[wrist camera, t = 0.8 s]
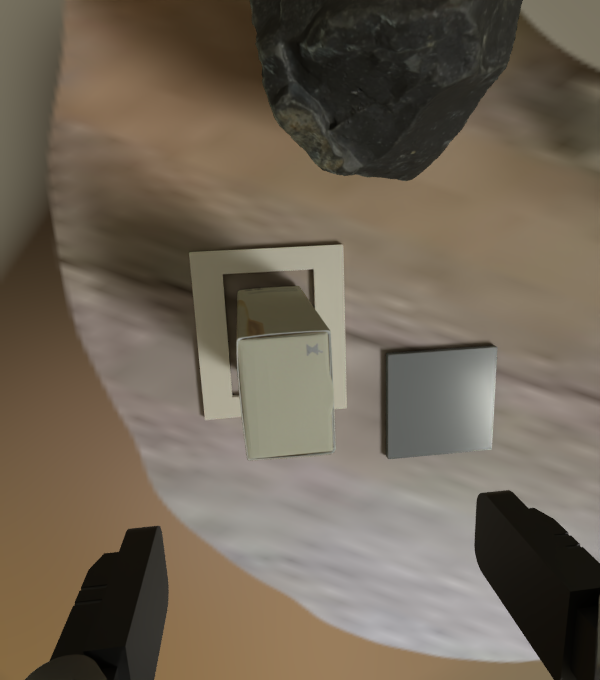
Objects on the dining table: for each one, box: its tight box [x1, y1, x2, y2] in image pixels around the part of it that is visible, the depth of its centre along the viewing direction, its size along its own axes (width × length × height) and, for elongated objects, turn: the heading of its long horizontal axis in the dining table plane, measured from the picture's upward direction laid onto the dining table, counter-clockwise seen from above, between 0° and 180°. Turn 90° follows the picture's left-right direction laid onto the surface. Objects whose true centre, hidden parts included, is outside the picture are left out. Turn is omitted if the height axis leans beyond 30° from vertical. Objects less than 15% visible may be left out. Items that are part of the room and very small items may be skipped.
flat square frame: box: [189, 244, 347, 420], centre depth 34 cm, size 10×12×1 cm
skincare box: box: [236, 286, 336, 461], centre depth 28 cm, size 6×4×12 cm
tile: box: [386, 345, 497, 459], centre depth 37 cm, size 8×8×1 cm
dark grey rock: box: [250, 0, 523, 181], centre depth 22 cm, size 14×15×18 cm
